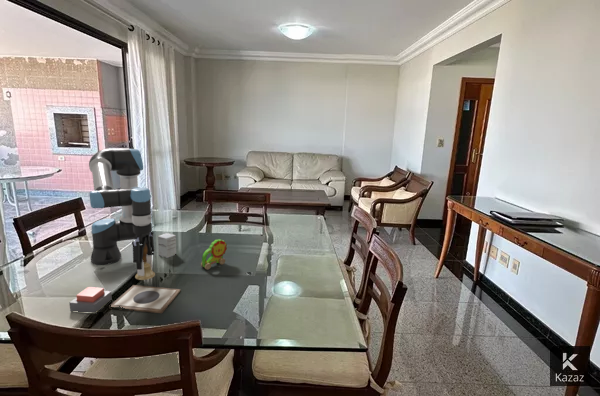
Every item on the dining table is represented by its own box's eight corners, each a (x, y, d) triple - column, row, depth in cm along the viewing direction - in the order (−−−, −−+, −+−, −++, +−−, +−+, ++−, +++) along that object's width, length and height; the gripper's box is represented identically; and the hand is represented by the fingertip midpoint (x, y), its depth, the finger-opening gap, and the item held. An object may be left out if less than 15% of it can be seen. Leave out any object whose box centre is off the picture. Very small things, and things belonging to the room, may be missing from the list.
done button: (77, 301, 138) (76, 295, 137) (88, 292, 145) (88, 286, 144) (93, 303, 137) (92, 296, 137) (104, 294, 144) (103, 288, 144)
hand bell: (149, 270, 152) (148, 238, 149) (158, 276, 147) (157, 243, 144) (131, 275, 146) (129, 242, 142) (140, 282, 141) (138, 248, 137)
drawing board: (108, 308, 141) (108, 306, 141) (133, 286, 160) (133, 284, 159) (162, 313, 140) (161, 311, 140) (180, 290, 158) (180, 288, 158)
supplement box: (158, 255, 195) (157, 235, 192) (168, 251, 202) (167, 232, 199) (166, 258, 192) (166, 238, 189) (176, 254, 198) (176, 234, 195)
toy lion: (205, 271, 180) (205, 245, 176) (200, 267, 183) (199, 242, 180) (228, 262, 192) (228, 238, 188) (222, 259, 195) (223, 236, 192)
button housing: (70, 311, 137) (69, 302, 136) (88, 298, 148) (87, 289, 147) (95, 314, 136) (94, 304, 135) (111, 300, 147) (111, 291, 146)
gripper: (138, 231, 131) (141, 282, 137) (161, 217, 150) (163, 263, 155) (120, 229, 132) (124, 281, 137) (145, 216, 150) (148, 262, 156)
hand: (145, 271), depth 146 cm, fingers closed on hand bell, 6 cm apart
